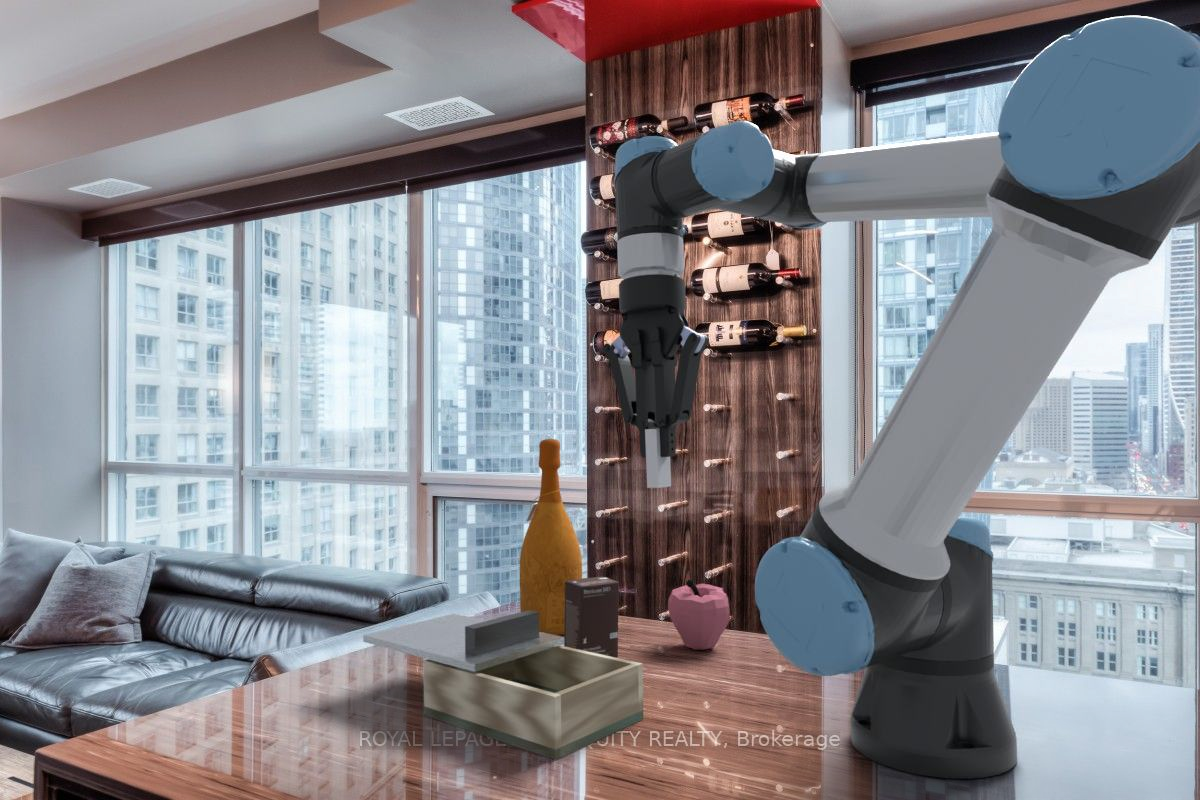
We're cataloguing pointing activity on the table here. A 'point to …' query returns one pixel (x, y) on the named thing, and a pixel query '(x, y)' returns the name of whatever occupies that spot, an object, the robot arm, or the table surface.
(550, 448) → the wine bottle
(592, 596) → the box
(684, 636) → the apple
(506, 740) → the case
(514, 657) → the cover plate
